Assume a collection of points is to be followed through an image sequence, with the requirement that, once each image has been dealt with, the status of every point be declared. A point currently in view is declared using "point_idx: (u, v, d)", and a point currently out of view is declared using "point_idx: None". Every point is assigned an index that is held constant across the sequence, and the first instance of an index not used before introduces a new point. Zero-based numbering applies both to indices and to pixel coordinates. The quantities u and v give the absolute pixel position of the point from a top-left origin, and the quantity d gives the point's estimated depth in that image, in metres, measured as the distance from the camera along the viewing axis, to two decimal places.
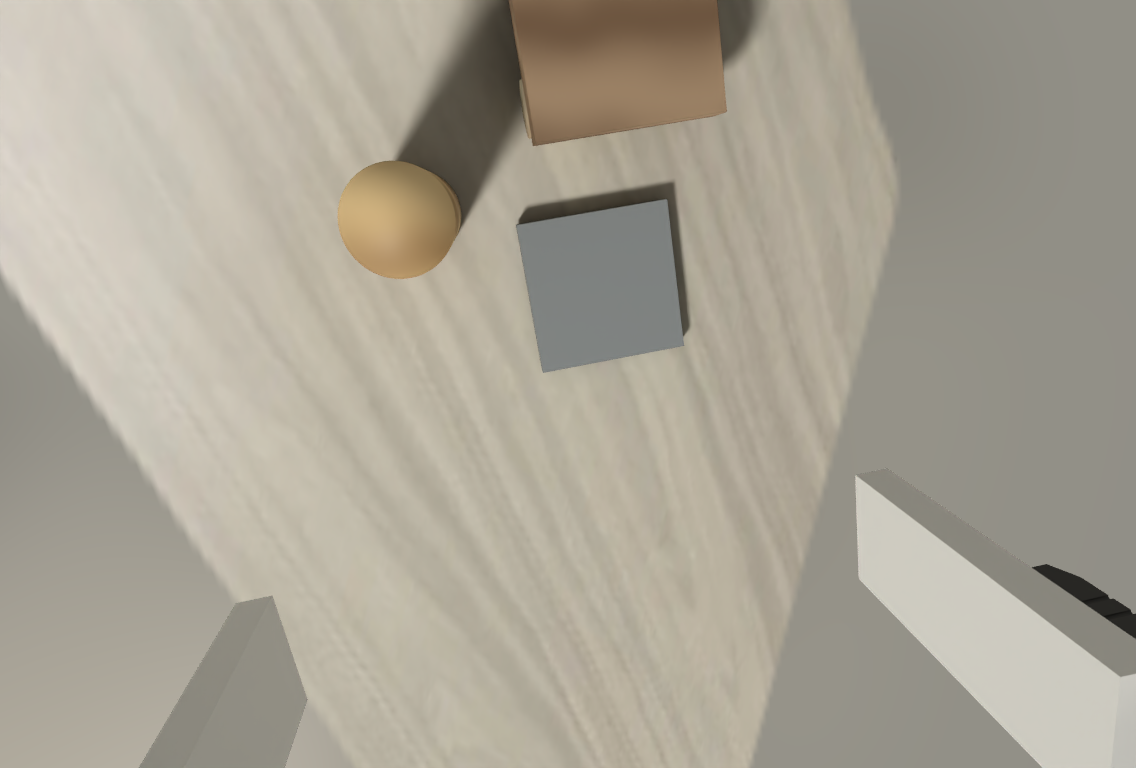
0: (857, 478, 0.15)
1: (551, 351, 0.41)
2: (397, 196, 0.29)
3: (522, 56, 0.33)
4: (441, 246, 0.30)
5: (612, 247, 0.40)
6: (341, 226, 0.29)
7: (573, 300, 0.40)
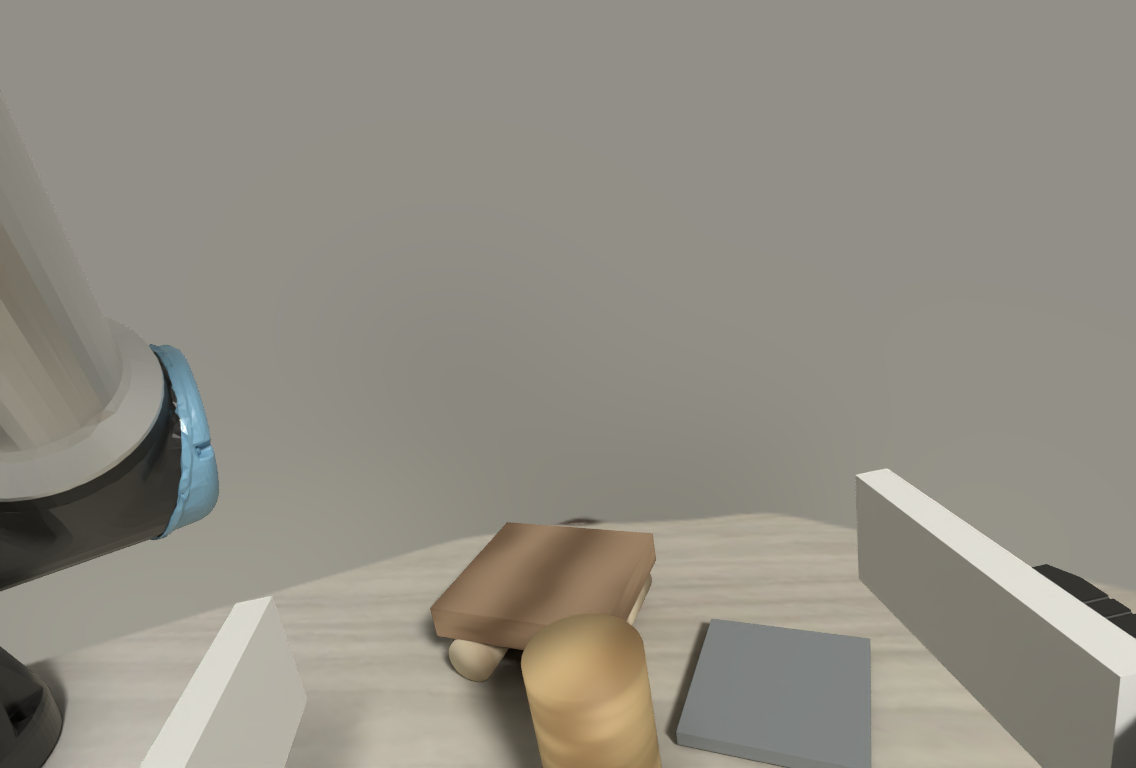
0: (857, 478, 0.15)
1: (841, 752, 0.31)
2: (562, 645, 0.28)
3: (533, 623, 0.37)
4: (627, 630, 0.28)
5: (737, 664, 0.38)
6: (554, 695, 0.25)
7: (783, 711, 0.34)
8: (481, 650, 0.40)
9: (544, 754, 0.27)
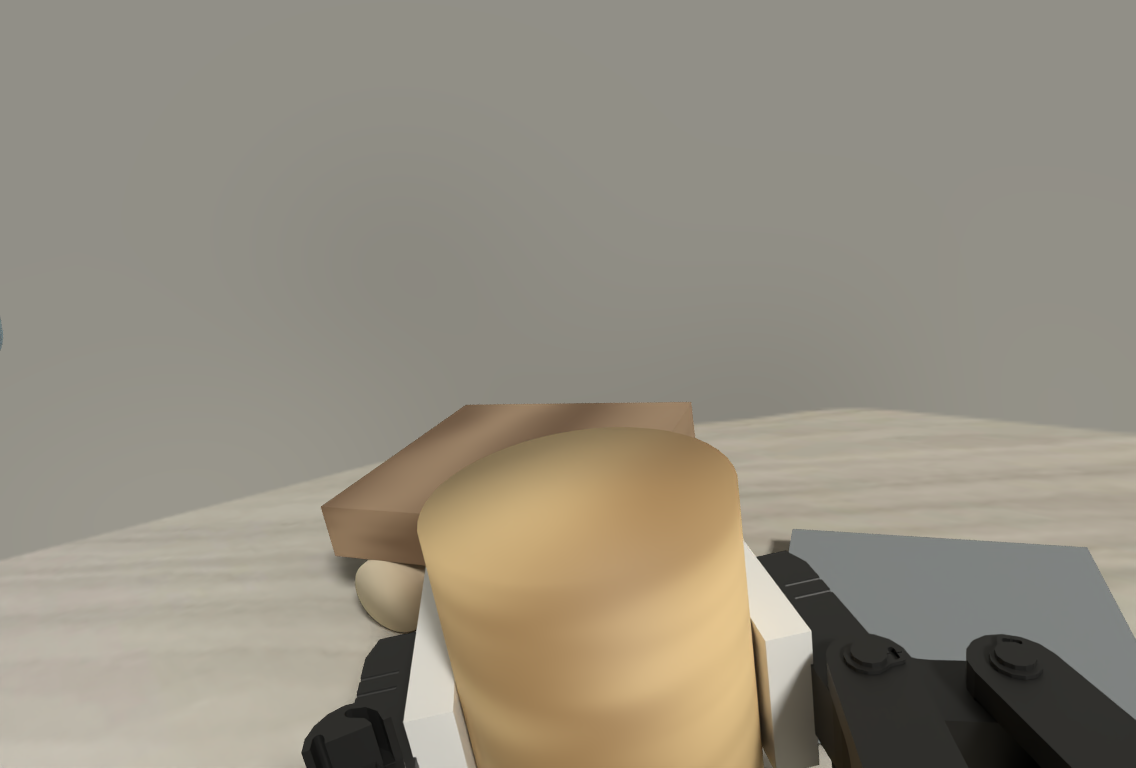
0: None
1: None
2: (526, 479, 0.11)
3: None
4: (686, 446, 0.11)
5: (855, 593, 0.21)
6: (495, 576, 0.09)
7: None
8: (405, 577, 0.23)
9: (478, 749, 0.10)
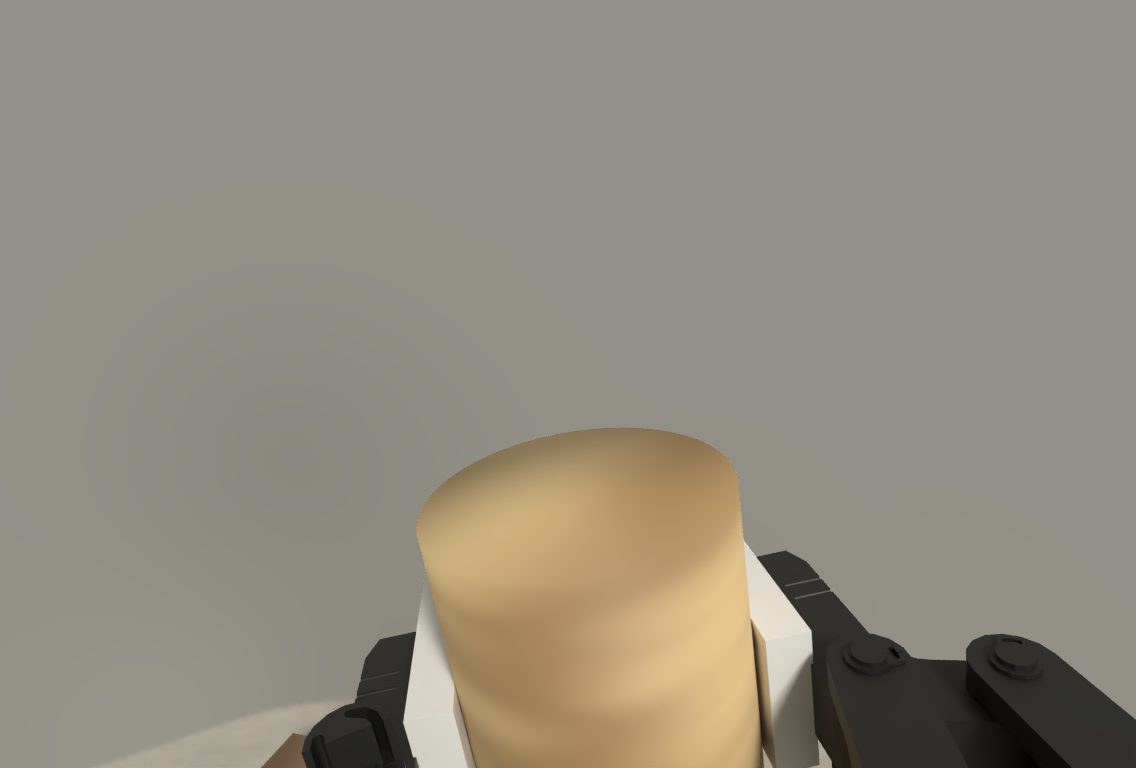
0: None
1: None
2: (525, 480, 0.11)
3: None
4: (686, 447, 0.11)
5: None
6: (494, 577, 0.09)
7: None
8: None
9: (478, 752, 0.10)
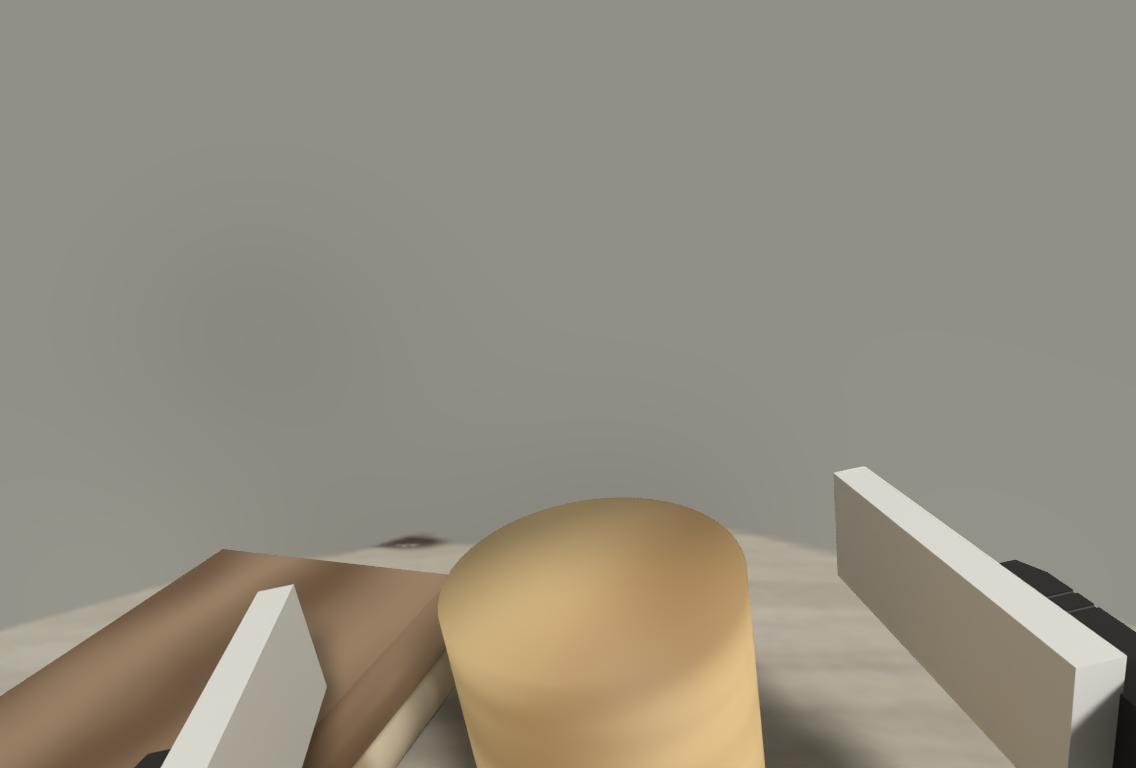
0: (835, 476, 0.15)
1: None
2: (541, 558, 0.12)
3: None
4: (696, 524, 0.12)
5: None
6: (516, 672, 0.09)
7: None
8: None
9: None
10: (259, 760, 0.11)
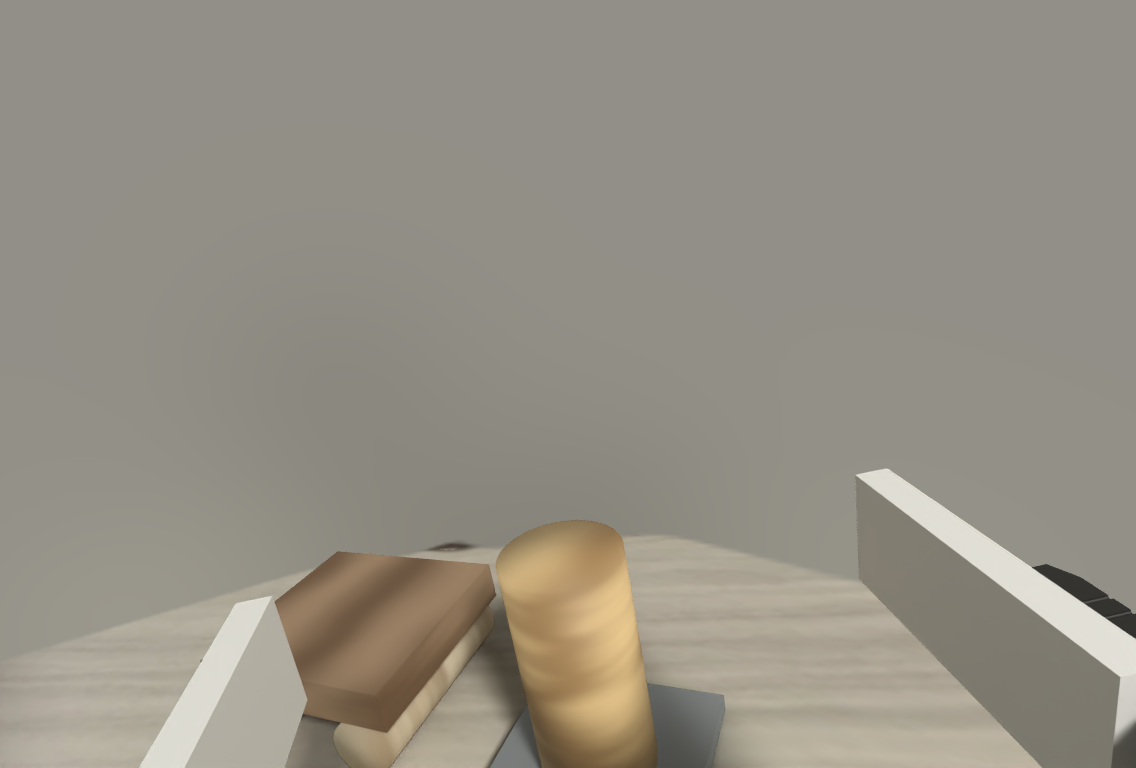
0: (857, 478, 0.15)
1: None
2: (538, 547, 0.27)
3: (305, 681, 0.30)
4: (607, 532, 0.27)
5: None
6: (529, 589, 0.24)
7: None
8: None
9: (521, 659, 0.26)
10: None
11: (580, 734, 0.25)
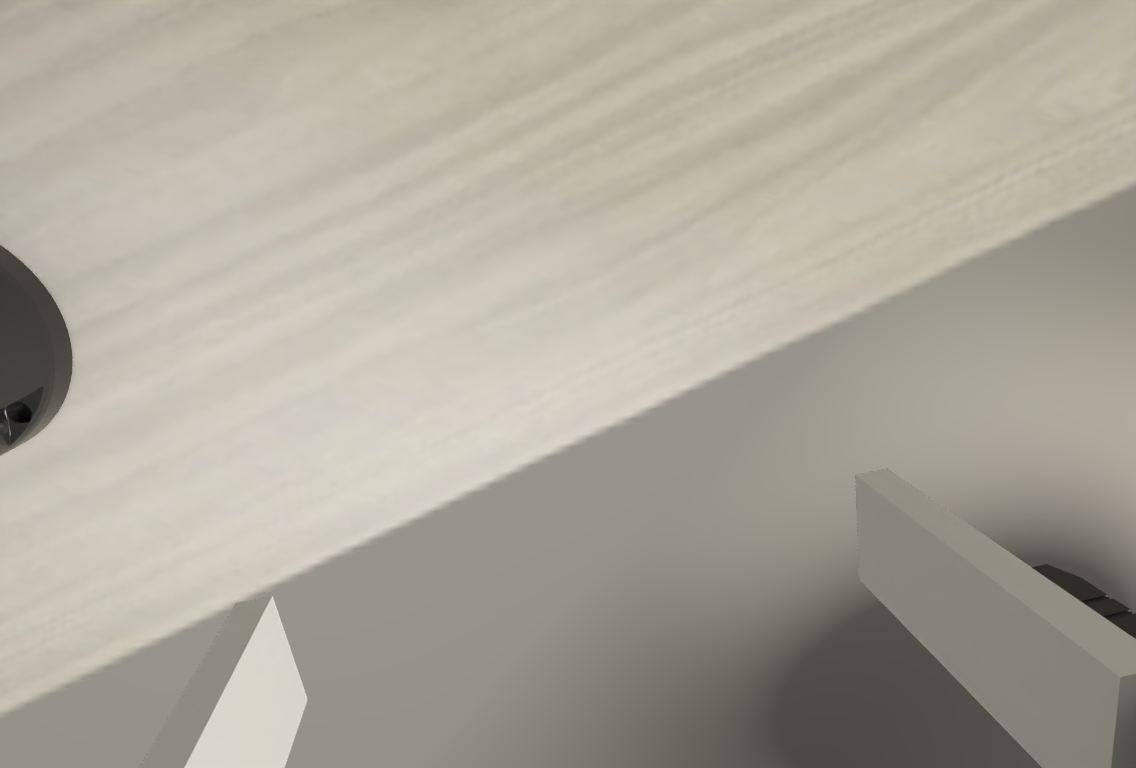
0: (857, 478, 0.15)
1: None
2: None
3: None
4: None
5: None
6: None
7: None
8: None
9: None
10: None
11: None
